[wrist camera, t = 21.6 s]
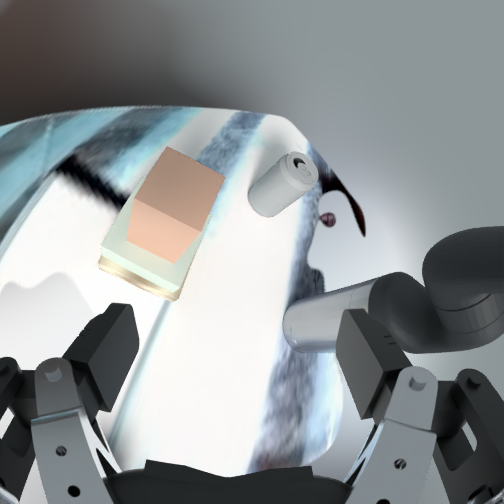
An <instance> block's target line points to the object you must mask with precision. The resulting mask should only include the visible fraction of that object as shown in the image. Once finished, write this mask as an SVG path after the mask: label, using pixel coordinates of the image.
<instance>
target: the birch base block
mask: <svg viewBox="0 0 504 504" xmlns="http://www.w3.org/2000/svg"><path fill="white" fill-rule="evenodd" d="M195 253H196V252H195ZM194 256H195V254H194ZM193 258H194V257H193ZM192 261H193V259H192ZM192 261H191V263H190V266H191V264H192ZM98 264H99V268H100V269H101V270H103V271H105V272H107V273H109V274H111V275H113V276H115V277H118V278H120V279H122V280H124V281H126V282H128V283H130V284H132V285H135V286H137V287H139V288H141V289H143V290H146V291H148V292H150V293H152V294H155V295H157V296H159V297H162V298H164V299H166V300H169V301H171V302H174V301H176V300H178V299H179V296H180V293H181V290H182V288H183V285H184V282H185V280H186V277H187V274H188V271H189V269H190V266H189V268H188V270H187V273H186V275H185V277H184V279H183V282H182V284H181V286H180V288H179V289H177V290H176V291H175V292H173V293H172V292H170V291H168V290H166V289H164V288H162V287H160V286H158V285H156V284H154V283H152V282H150V281H148V280H146V279H144V278H142V277H140V276H139V275H137V274H135V273H133V272H131V271H129V270H127V269H125V268H124V267H122V266H120V265H118V264H116V263H114V262H112V261H111V260H109V259H107V258H105V257H104V256H102V255H101V257H100V259H99V261H98Z"/></svg>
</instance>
